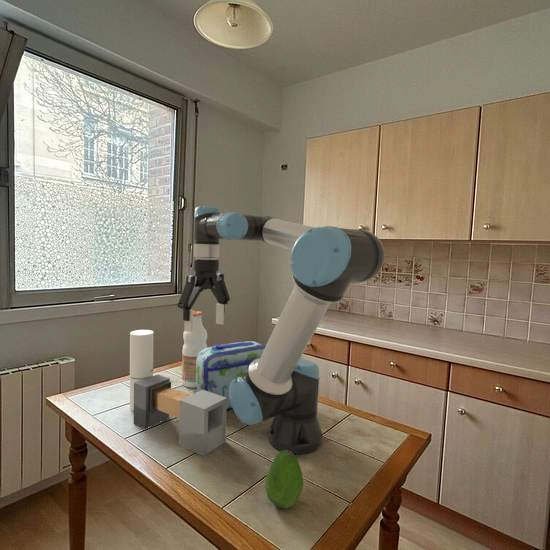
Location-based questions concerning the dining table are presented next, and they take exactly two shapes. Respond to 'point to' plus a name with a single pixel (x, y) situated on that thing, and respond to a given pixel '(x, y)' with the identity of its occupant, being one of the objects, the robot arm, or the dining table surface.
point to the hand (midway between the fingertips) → (204, 327)
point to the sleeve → (202, 422)
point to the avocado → (284, 480)
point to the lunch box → (224, 366)
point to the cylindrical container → (140, 358)
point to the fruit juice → (192, 350)
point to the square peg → (165, 399)
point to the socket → (147, 402)
